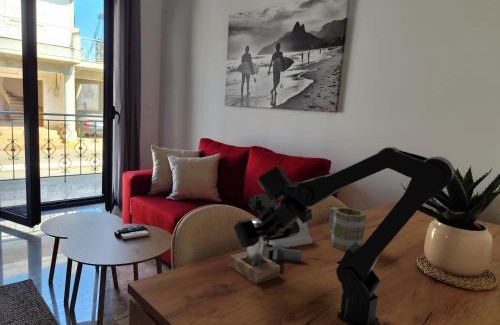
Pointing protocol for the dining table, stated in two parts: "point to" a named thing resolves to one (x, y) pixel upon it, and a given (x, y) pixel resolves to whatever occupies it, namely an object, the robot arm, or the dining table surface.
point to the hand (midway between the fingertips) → (252, 242)
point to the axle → (255, 249)
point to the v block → (282, 254)
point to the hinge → (294, 237)
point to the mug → (346, 227)
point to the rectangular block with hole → (254, 268)
